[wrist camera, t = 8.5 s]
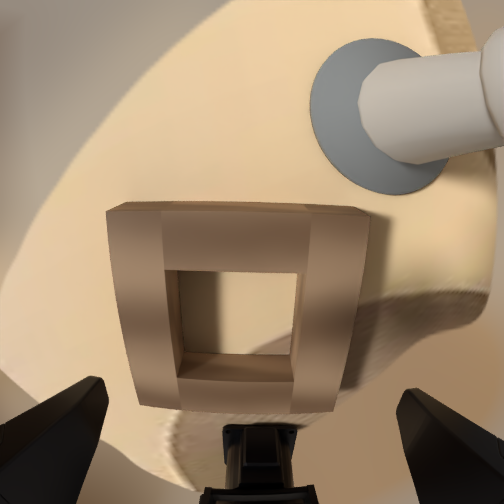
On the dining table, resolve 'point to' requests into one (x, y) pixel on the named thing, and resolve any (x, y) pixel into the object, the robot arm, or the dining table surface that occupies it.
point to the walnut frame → (237, 260)
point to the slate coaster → (349, 122)
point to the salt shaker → (436, 104)
